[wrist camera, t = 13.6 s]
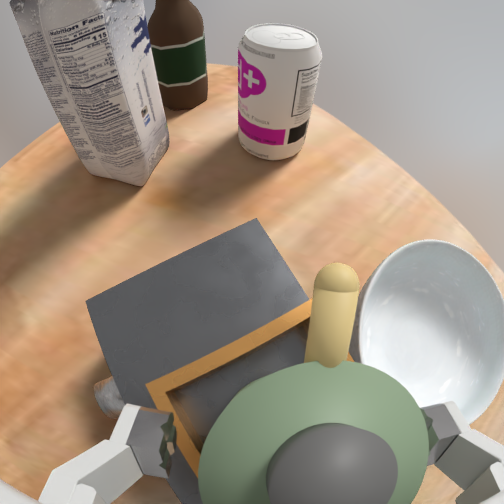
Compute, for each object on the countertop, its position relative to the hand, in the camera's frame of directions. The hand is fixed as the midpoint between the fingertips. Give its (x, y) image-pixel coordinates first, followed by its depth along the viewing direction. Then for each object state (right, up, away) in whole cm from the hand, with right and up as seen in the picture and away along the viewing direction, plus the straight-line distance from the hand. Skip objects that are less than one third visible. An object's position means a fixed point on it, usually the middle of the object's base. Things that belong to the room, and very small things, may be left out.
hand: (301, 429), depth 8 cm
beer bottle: (-12, +29, +32) cm, 45 cm away
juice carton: (-17, +17, +27) cm, 36 cm away
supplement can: (+1, +20, +28) cm, 34 cm away
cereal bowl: (+14, -4, +18) cm, 23 cm away
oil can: (0, -3, +7) cm, 8 cm away
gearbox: (-4, -7, +15) cm, 17 cm away
